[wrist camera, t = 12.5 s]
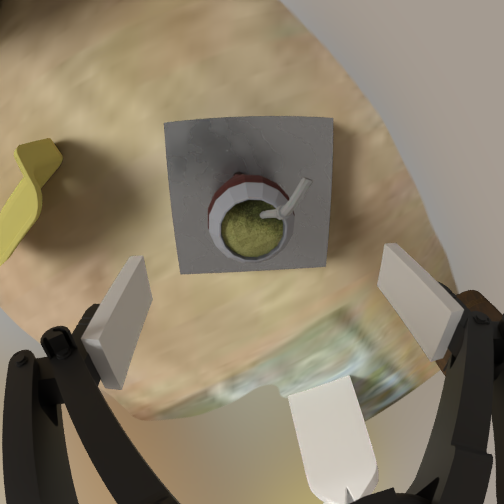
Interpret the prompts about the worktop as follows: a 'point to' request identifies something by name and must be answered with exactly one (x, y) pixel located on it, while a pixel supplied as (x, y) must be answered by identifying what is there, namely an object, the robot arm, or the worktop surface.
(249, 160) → the stand
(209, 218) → the mate gourd
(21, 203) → the plastic component
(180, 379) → the worktop surface
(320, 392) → the milk
